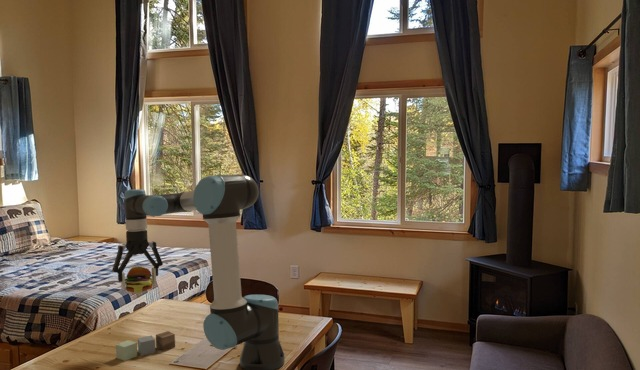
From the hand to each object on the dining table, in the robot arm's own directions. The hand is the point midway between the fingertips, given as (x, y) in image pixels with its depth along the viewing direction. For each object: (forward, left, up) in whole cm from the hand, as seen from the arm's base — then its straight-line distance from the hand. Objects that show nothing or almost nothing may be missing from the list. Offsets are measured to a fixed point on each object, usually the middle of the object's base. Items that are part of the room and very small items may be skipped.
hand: (139, 287), depth 184 cm
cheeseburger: (0, 0, -1) cm, 1 cm away
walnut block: (-10, -6, -22) cm, 25 cm away
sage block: (-10, +8, -22) cm, 25 cm away
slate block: (-10, +1, -22) cm, 24 cm away
